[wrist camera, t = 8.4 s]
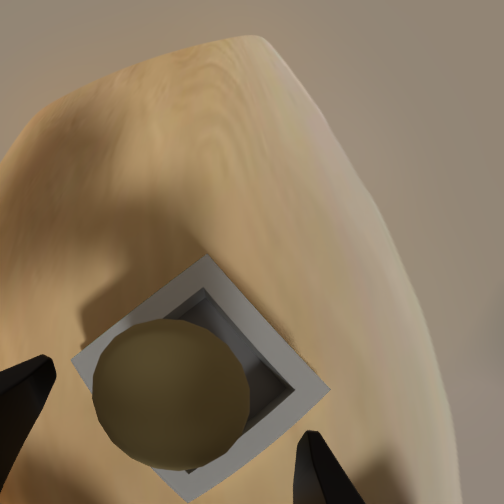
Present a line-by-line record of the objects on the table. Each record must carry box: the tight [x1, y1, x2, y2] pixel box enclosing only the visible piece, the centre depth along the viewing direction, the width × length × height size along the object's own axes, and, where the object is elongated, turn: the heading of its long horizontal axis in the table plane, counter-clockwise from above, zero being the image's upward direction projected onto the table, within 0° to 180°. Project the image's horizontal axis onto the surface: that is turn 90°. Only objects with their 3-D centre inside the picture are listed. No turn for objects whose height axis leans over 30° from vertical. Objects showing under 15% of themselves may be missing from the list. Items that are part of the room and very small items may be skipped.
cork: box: [92, 319, 250, 471], centre depth 12 cm, size 6×6×11 cm
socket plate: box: [71, 254, 331, 503], centre depth 16 cm, size 12×12×4 cm
